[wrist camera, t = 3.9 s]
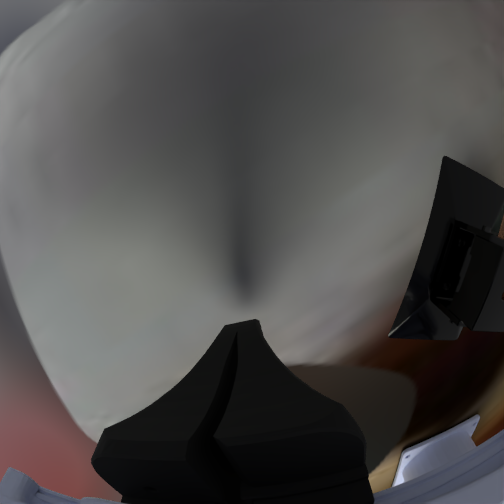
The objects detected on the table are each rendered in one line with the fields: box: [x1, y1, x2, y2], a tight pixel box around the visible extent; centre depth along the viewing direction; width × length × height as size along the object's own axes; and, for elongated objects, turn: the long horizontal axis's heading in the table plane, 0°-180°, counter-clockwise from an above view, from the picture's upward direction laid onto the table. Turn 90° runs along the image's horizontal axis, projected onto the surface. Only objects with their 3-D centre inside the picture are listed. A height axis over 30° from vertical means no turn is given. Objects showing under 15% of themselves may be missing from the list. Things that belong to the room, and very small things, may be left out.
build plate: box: [389, 156, 504, 340], centre depth 11 cm, size 12×7×5 cm, turn 169°
